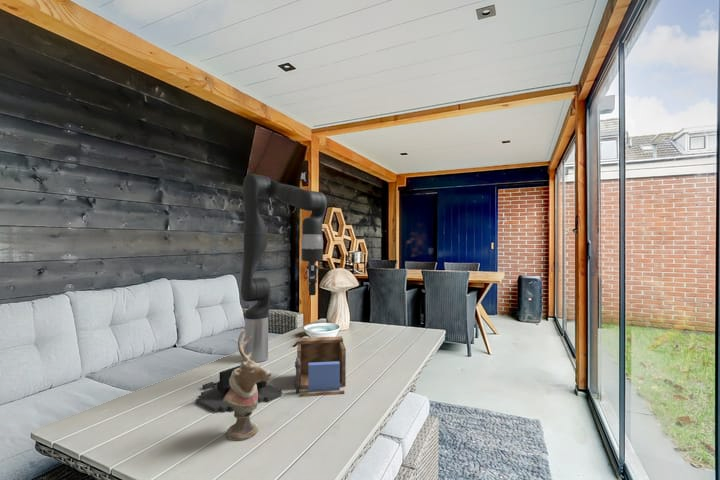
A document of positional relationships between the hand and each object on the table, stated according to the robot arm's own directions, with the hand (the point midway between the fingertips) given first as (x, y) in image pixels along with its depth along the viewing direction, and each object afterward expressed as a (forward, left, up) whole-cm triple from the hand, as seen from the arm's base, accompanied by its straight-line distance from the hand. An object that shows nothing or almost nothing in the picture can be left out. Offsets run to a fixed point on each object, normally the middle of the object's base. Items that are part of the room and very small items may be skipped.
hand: (312, 293), depth 125 cm
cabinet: (+3, -5, -30) cm, 31 cm away
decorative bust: (-17, -34, -30) cm, 49 cm away
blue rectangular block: (+4, -11, -30) cm, 32 cm away
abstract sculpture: (-24, -10, -31) cm, 41 cm away
